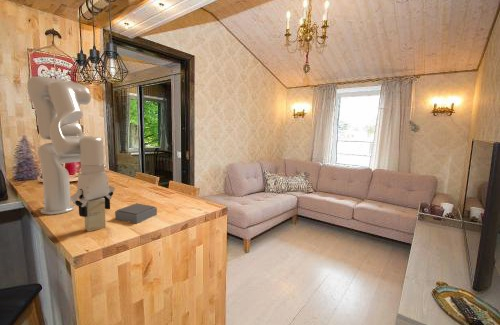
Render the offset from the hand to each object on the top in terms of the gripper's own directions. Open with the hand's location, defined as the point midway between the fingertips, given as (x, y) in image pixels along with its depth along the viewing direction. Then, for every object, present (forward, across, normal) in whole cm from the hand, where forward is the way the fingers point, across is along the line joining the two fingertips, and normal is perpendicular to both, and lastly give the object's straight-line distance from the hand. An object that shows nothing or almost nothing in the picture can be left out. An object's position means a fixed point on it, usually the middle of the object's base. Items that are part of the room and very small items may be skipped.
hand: (95, 212), depth 93 cm
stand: (+7, -16, +4) cm, 18 cm away
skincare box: (+7, 0, -1) cm, 7 cm away
